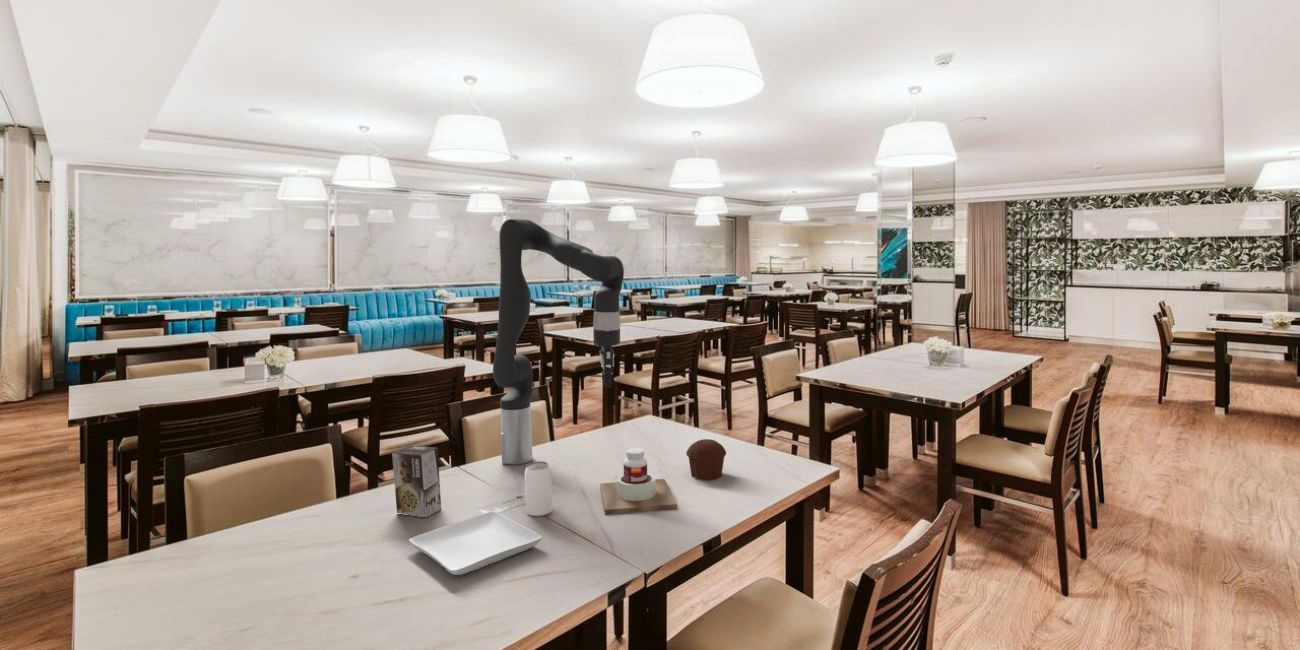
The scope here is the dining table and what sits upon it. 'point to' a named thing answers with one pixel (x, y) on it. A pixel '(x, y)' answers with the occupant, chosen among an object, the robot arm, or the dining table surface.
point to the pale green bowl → (636, 489)
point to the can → (538, 489)
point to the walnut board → (620, 505)
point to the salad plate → (475, 542)
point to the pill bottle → (635, 466)
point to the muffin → (706, 459)
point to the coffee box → (417, 480)
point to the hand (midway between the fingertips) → (606, 383)
